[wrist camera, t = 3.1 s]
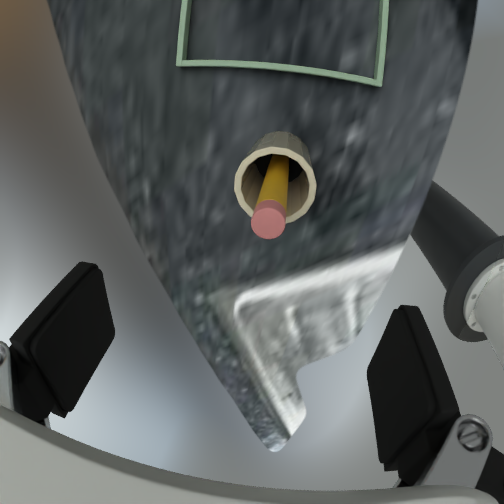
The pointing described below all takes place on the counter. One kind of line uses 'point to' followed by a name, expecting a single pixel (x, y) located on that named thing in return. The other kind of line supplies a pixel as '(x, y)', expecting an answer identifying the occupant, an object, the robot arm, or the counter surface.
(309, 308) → the counter surface
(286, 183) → the pencil
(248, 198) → the pen cup
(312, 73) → the tray
